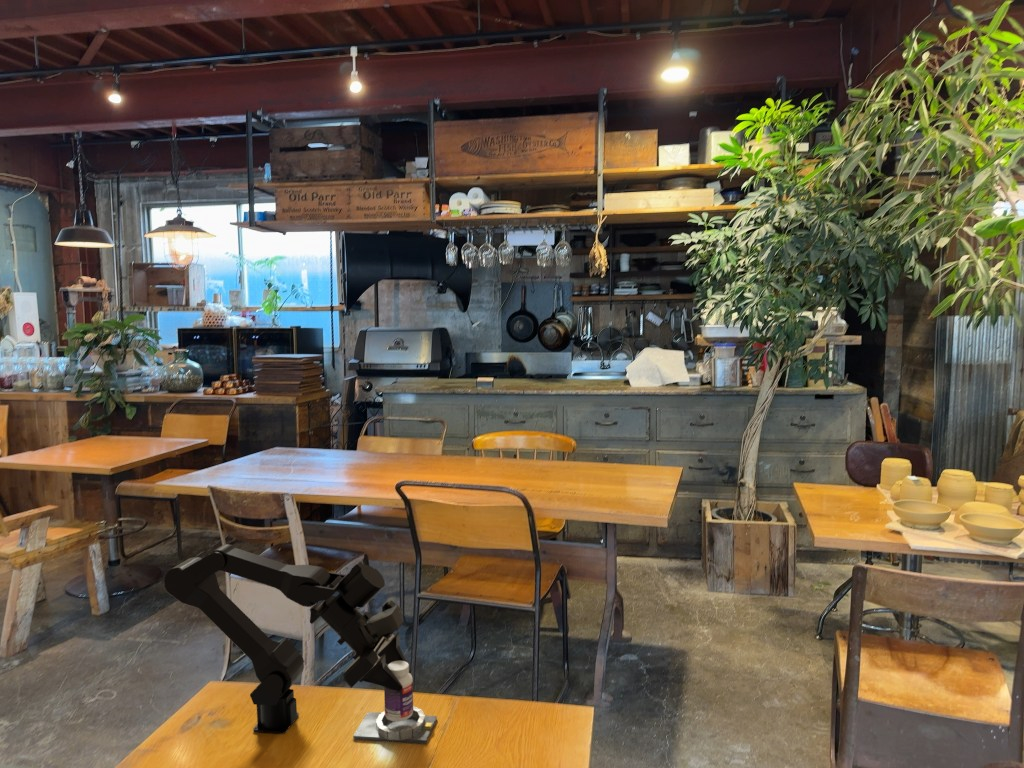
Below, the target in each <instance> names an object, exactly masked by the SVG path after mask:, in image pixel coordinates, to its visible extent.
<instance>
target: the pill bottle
mask: <svg viewBox="0 0 1024 768" xmlns="http://www.w3.org/2000/svg"><path fill="white" fill-rule="evenodd" d="M409 665H410V664H409V662H407V661H406V662H405V661H394V662H391V663H390V664H389V665H388V664H387V667H388V668H389V669H390V670H391V672H392V673H393V674H394V675H395V677H396V678H397V679H398V680H399V682H400V683H401V685H402V686H403V688H402V689H401V690H400V691H396V690H393V689H390V688H387V687H384V688H383V691H384V692H383V693H384V711H385V716H386V718H387V719H388V720H391V721H403V720H406V719H408V718H410V717H411V716H412V714H413V706H414V682H413V681H414V679H413V675H412V673H409V668H410V666H409Z"/></svg>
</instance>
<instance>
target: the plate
mask: <svg viewBox="0 0 1024 768" xmlns="http://www.w3.org/2000/svg"><path fill="white" fill-rule="evenodd" d="M380 713H381V712H374V711H367V713H366V714H365V715H364V718H363V719H362V720H361V723H360V724H359V725H358V727H357V728H356V730H355V732H354V733H353V736H352V740H353V741H364V742H365V741H367V742H382V743H398V744H413V745H415V744H416V745H427V744H428V742H429V740H430V736H431V735H432V732H433V729H434V727H435V725H436V722H437V719H438V716H437V715H427V714H426V715H425V714H424V715H425V724H426V723H432V728H431V730H429V729H425V728H423V730H422V731H421V732H420V733H418V734H417V735H415V736H414V737H412V738H408V739H404V740H388V739H385V738H383V737H381V736H379V735H378V732H377V729H376V720H377V718H378V716H379V714H380ZM417 722H418V719H416V718H414V717H412V716H411V717H410V718H408V719H406V720H403V721H391V720H387V721H386V722H385V723H384V724H383V725H384V726H386V727H388V728H390V729H404V728H408V727H411V726H412V725H414V724H415V723H417Z"/></svg>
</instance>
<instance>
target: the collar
mask: <svg viewBox="0 0 1024 768" xmlns="http://www.w3.org/2000/svg"><path fill="white" fill-rule="evenodd" d="M379 713H380V714H379V716H378V718H377V720H376V729H377V732H378V735H379V736H381V737H383V738H385V739H388V740H404V739H408V738H412V737H414V736H415V735H417V734H418V733H420V732H421V731H422V730H423V728H425V729H429V730H431V728H432V723H426V724H425V713H424V711H423V710H422V709H421V708H418V707H417V706H414V705H413V714H412V717H414V718H416V719H418V722H417V723H415V724H414V725H412V726H411V727H408V728H404V729H390V728H388V727H386V726H384V725H383V724H384V723H385V722H386V721H387V720H388V719H387V718H386V716H385V710H384V711H382V712H379Z"/></svg>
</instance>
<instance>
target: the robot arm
mask: <svg viewBox="0 0 1024 768" xmlns="http://www.w3.org/2000/svg"><path fill="white" fill-rule="evenodd" d="M220 571H221V572H225V573H228V574H230V575H234V576H237V577H240V578H244V579H246V580H249V581H251V582H256V583H259V584H261V585H265V586H268V587H271V588H273V589H276V590H278V591H280V592H281V593H282V594H283V595H284V596H285V597H286V598H287V599H288V600H290V601H292V602H294V603H296V604H297V605H299V606H302V607H306V608H307V607H309V608H310V607H311V608H310V609H309V611H310V618H309V623H310V624H311V625H312V624H314V623H315V622H316V621H317V620H318V619H319V618H321V620H323V621H324V622H325V623H326V625H328V627H329V628H330V629H332V630H331V631H333V632H334V633H335V634H336V635H337V636H338V637H339V639H338V640H337V641H336V642H337V643H338V644H339V645H340V646H341V645H343V644H344V643H345V644H346V645H347V646H348V647H349V648H350V649H351V651H353V653H354V655H353V656H352V658H353V661H352V662H351V663H350V664H349V666H348V667H347V668H346V670H345V671H344V672H343V682H345V684H346V685H348V687H349V688H351V689H352V688H353V687H355V685H356V684H357V683H358V682H359V683H363V682H366V683H368V684H369V683H370V684H374V685H378V686H381V687H387V688H390V689H393V690H396V691H400V690H401V689H402V688H403V686H402V685H401V683H400V682H399V680H398V679H397V678H396V677H395V675H394V674H393V673H392V672H391V670H390V669H389V668H388V665H389V664H390V663H391V662H394V661H405V662H407V660H406V657H405V656H404V654H403V651H402V649H401V647H400V636H401V632H400V631H398V630H400V628H401V627H402V625H403V623H404V618H403V616H402V614H401V613H402V611H403V609H402V607H400V606H399V604H397V603H396V602H394V601H393V600H391V599H390V600H388V601H385V602H384V603H383V605H382V606H381V611H379V612H378V613H377V614H374V615H373V614H371V613H370V612H369V611H365V612H364V613H362V612H361V611H360V610H359V608H364V607H365V606H366V605H367V604H368V603H369V602H370V601H371V600H372V599H373V598H374V597H375V596H376V595H377V594H379V593H380V592H381V590H382V589H383V588H385V586H386V582H385V579H384V577H383V575H382V574H381V572H380V571H379V570H378V569H377V568H374V567H373V566H370V565H369V564H364V563H363V562H362V561H361V560H360V561H359V560H358V562H357V563H355V564H354V565H353V567H352V568H351V569H350V571H349V572H348V573H347V574H344V573H338V572H332V571H328V569H327V568H325V567H323V566H318V565H309V564H287V563H285V562H284V563H283V562H280V561H277V560H275V559H271V558H268V557H266V556H262V555H259V554H256V553H252V552H249V551H247V550H243V549H240V548H237V547H236V546H234V545H232V544H227V543H226V544H223V545H221V546H218V548H216V549H215V550H213V551H211V552H209V553H208V554H207V555H204V556H202V557H200V556H199V557H190V558H188V559H186V560H184V561H183V562H180V563H179V564H178V565H176V566H174V567H172V568H170V569H169V570H168V571H167V572H166V574H165V576H164V585H163V587H164V589H165V591H166V592H167V594H169V595H170V596H171V597H173V598H174V599H176V600H177V601H179V602H180V603H181V604H184V605H186V606H190V607H193V608H196V609H199V610H200V611H201V612H202V613H203V614H204V615H205V616H206V617H207V618H208V619H209V620H210V621H211V622H212V623H213V624H214V625H215V626H216V627H217V628H218V629H219V631H221V632H222V633H223V634H224V635H225V636H226V637H227V638H228V639H229V640H230V641H231V642H232V643H233V644H234V645H235V646H236V647H237V648H238V649H239V650H240V651H241V652H243V654H244V655H245V656H246V657H247V658H248V659H249V660H250V661H251V663H252V667H253V671H254V674H255V677H256V678H257V680H258V682H259V684H257V686H256V687H255V688H254V689H253V690H252V691H251V693H250V694H249V696H250V699H251V701H252V704H253V705H255V706H256V720H257V721H256V722H257V723H256V725H255V726H254V727H253V729H252V730H253V731H252V732H255V733H268V734H269V733H270V734H286V732H287V731H288V730H289V729H290V728H291V726H292V725H293V724H294V722H295V721H296V720H297V718H299V715H300V714H299V712H298V711H297V706H298V705H297V698H296V697H295V695H294V693H295V691H294V690H295V689H292V686H293V685H294V684H295V683H296V681H297V680H298V678H299V677H300V676H301V675H302V673H303V672H304V668H305V660H304V657H303V656H302V655H301V653H302V650H301V649H298V648H296V646H294V645H293V643H292V642H291V641H290V640H289V639H288V638H284V639H283V640H282V641H281V642H279V641H275V640H272V639H271V638H270V637H269V636H268V635H267V634H266V633H265V632H263V630H262V629H261V628H260V627H259V626H258V625H257V624H256V623H255V622H254V621H253V620H251V618H250V617H249V616H247V615H246V614H245V612H243V610H242V609H241V608H239V606H238V605H236V603H234V601H232V599H231V598H229V597H228V596H227V595H226V594H225V593H224V592H223V591H222V589H221V588H220V585H219V581H218V578H217V575H216V573H217V572H220ZM336 592H338V594H337V595H335V593H336ZM319 601H322V602H321V603H320V604H318V603H319ZM396 631H398V632H397V633H396V634H395V635H394V633H395V632H396ZM409 673H410V674H412V670H411V668H410V667H409Z"/></svg>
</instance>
